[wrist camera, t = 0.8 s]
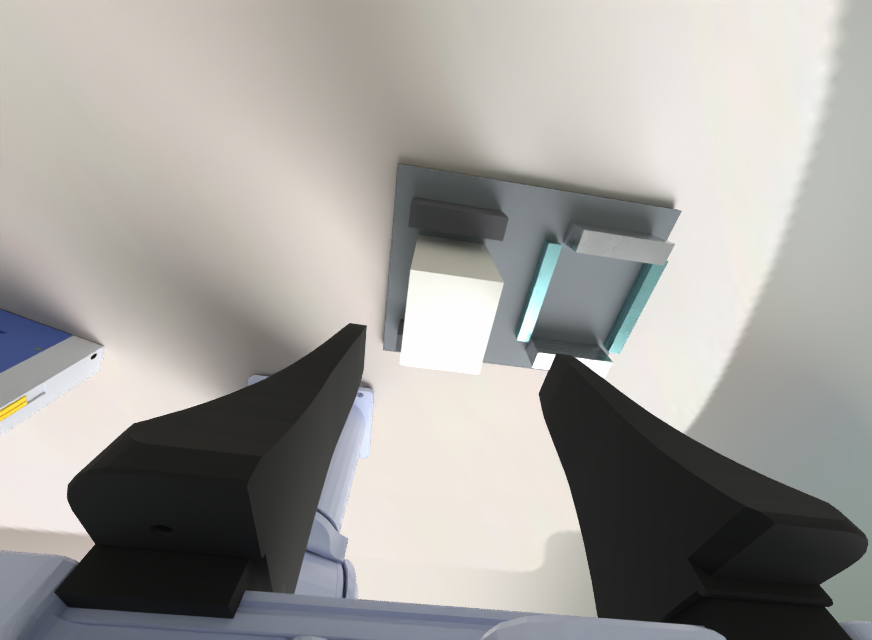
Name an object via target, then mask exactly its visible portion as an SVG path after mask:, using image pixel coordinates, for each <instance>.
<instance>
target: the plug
mask: <svg viewBox="0 0 872 640" xmlns="http://www.w3.org/2000/svg"><path fill="white" fill-rule="evenodd" d="M503 285H504V282H503V280H502V278H501V276H500V274H499V272H498V270H497V268H496V266H495V264H494V261H493V259H492V257H491V255H490V253H489V251H488V249H487V247H486V245H485V244H479V243H472V242H466V241H459V240H452V239H446V238H439V237H432V236H426V235H419V234H418V237H417V242H416V246H415V251H414V256H413V260H412V265H411V269H410V277H409V286H408V295H407V304H406V312H405V321H404V330H403V339H402V347H401V356H400V365H403V366H411V367H419V368H427V369H436V370H444V371H452V372H461V373H469V374H477V375H479V373H480V369H481V365H482V362H483V358H484V354H485V351H486V347H487V343H488V340H489V336H490V332H491V329H492V325H493V321H494V318H495V314H496V310H497V307H498V303H499V299H500V296H501V292H502V288H503Z"/></svg>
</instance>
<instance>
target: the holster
mask: <svg viewBox="0 0 872 640" xmlns="http://www.w3.org/2000/svg"><path fill="white" fill-rule="evenodd" d="M508 219H509V218H508V217H507V216H506V215H505V214H504V213H503V212H502V211H499V210H493V209H486V208H480V207H474V206H467V205H461V204H455V203H449V202H442V201H436V200H430V199H423V198H417V197H413V199H412V201H411V206H410V215H409V225H408V227H412V228H419V229H425V230H432V231H439V232H445V233H452V234H458V235H465V236H472V237H478V238H485V239H491V240H498V241H503V239H504V235H505V231H506V227H507V223H508ZM404 321H405V320H403V319H400V324H399V328H398V333H397V341H396V350H395V351H401V347H402V339H403V330H404Z"/></svg>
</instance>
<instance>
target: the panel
mask: <svg viewBox="0 0 872 640" xmlns="http://www.w3.org/2000/svg"><path fill="white" fill-rule="evenodd" d="M413 197H417V198H423V199H430V200H436V201H442V202H449V203H455V204H461V205H467V206H474V207H480V208H486V209H493V210H499V211H502V212H503V213H504V214H505V215H506V216H507V217H508V218H509V219H508V223H507V227H506V231H505V235H504V239H503V241H498V240H491V239H485V238H478V237H472V236H465V235H458V234H452V233H445V232H439V231H432V230H425V229H419V228H412V227H408V225H409V215H410V206H411V201H412V199H413ZM680 213H681V211H680V210H677V209H672V208H666V207H659V206H653V205H647V204H641V203H635V202H629V201H623V200H617V199H611V198H605V197H599V196H593V195H587V194H581V193H575V192H569V191H563V190H557V189H551V188H545V187H538V186H532V185H526V184H520V183H514V182H508V181H502V180H496V179H490V178H484V177H478V176H472V175H466V174H460V173H454V172H448V171H442V170H436V169H430V168H424V167H417V166H411V165H405V164H398V169H397V181H396V194H395V206H394V219H393V231H392V244H391V256H390V269H389V281H388V294H387V306H386V319H385V331H384V344H383V350H386V351H394V352H401V351H395V350H396V341H397V333H398V328H399V324H400V319H403V320H405V312H406V304H407V295H408V286H409V277H410V269H411V265H412V260H413V256H414V251H415V246H416V242H417V237H418V234H419V235H426V236H432V237H439V238H446V239H452V240H459V241H466V242H472V243H479V244H485V245H486V247H487V249H488V251H489V253H490V255H491V257H492V259H493V261H494V264H495V266H496V268H497V270H498V272H499V274H500V276H501V278H502V280H503V282H504V285H503V288H502V292H501V296H500V299H499V303H498V307H497V310H496V314H495V318H494V321H493V325H492V329H491V332H490V336H489V340H488V343H487V347H486V351H485V354H484V358H483V363H491V364H499V365H507V366H515V367H523V368H531V369H539V368H532V365H531V363H530V361H529V358H528V356H527V354H526V351H525V349H526V346H527V343H528V342H526V341H518V340H517V339H516V336H515V331H516V328H517V325H518V322H519V319H520V315H521V312H522V309H523V306H524V303H525V300H526V297H527V293H528V290H529V287H530V284H531V281H532V278H533V275H534V271H535V268H536V265H537V262H538V259H539V256H540V253H541V249H542V246H543V243H544V240H551V241H557V242H559V243H560V244H561V245H562V248H561V251H560V254H559V257H558V260H557V263H556V265H555V268H554V271H553V274H552V277H551V280H550V283H549V285H548V288H547V291H546V294H545V297H544V300H543V303H542V305H541V308H540V311H539V314H538V317H537V320H536V323H535V326H534V328H533V331H532V334H531V336H533V337H540V338H548V339H555V340H563V341H571V342H578V343H586V344H594V345H599V346H600V347H601V348H602V350H603V351H604V352H605V353H606V355H607V356H608V354H609V353H610V352H608V351H607V350H606V349H605V348H604V346H603V344H604V342H605V340H606V338H607V336H608V334H609V332H610V330H611V328H612V326H613V324H614V322H615V320H616V318H617V316H618V314H619V312H620V310H621V308H622V306H623V304H624V302H625V300H626V298H627V296H628V293H629V291H630V289H631V287H632V285H633V283H634V281H635V279H636V277H637V275H638V273H639V271H640V269H641V267H642V265H643V262H636V261H630V260H623V259H617V258H610V257H603V256H597V255H590V254H584V253H577V252H575V251H573V250H572V249H571V248H569V247H568V246H567V245H565V244H564V243H563V240H564V237H565V234H566V231H567V228H568V225H569V223H570V222H575V223H581V224H587V225H594V226H600V227H606V228H613V229H619V230H625V231H632V232H638V233H644V234H651V235H654V236H656V237H659V238H661V239H664V240H666V241H667V239H668V237H669V235H670V233H671V231H672V229H673V227H674V225H675V223H676V221H677V219H678V217H679V215H680ZM539 370H547V369H539ZM547 371H549V370H547Z"/></svg>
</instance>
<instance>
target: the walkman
mask: <svg viewBox="0 0 872 640" xmlns="http://www.w3.org/2000/svg"><path fill="white" fill-rule="evenodd" d="M103 355H104V346H102V345H99V344H96V343H93V342H91V341H88V340H85V339H82V338H80V337H77V336H74V335H71V334H68V333H65V332H62V331H59V330H57V329H54V328H51V327H48V326H46V325H43V324H40V323H37V322H34V321H32V320H29V319H26V318H23V317H20V316H18V315H15V314H12V313H9V312H7V311H4V310H1V309H0V436H1V435H3V434H4V433H6V432H7V431H9V430H10V429H12V428H13V427H15V426H16V425H18V424H19V423H21V422H22V421H24V420H26V419H27V418H29V417H30V416H32V415H33V414H35V413H36V412H38V411H39V410H41V409H42V408H44V407H45V406H47V405H48V404H50V403H51V402H53V401H54V400H56V399H57V398H59V397H60V396H62V395H63V394H65V393H66V392H68V391H69V390H71V389H72V388H74V387H75V386H77V385H78V384H80V383H82V382H83V381H85V380H86V379H88V378H89V377H91V376H92V375H94V374H95V373H97V372H98V371H100V361H101V360H103Z"/></svg>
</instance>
